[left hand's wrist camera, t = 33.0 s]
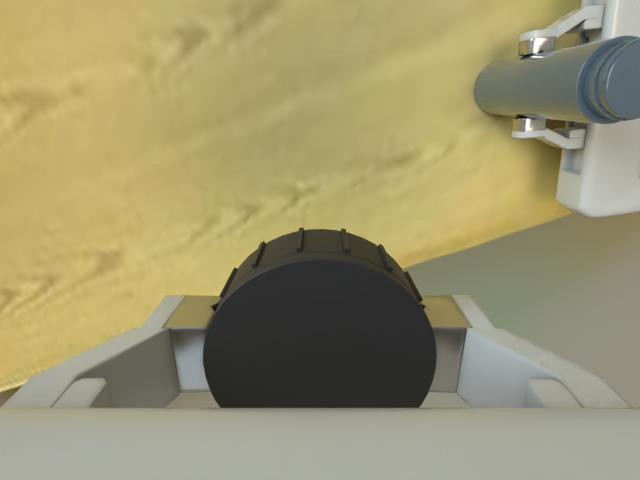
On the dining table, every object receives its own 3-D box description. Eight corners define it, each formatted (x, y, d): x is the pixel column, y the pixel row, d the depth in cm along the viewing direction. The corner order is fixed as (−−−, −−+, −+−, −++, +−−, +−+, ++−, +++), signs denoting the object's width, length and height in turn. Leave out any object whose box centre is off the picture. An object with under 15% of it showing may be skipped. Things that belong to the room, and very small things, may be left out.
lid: (187, 267, 9) (156, 307, 8) (382, 195, 9) (399, 219, 7) (269, 417, 11) (259, 478, 9) (439, 364, 10) (464, 419, 9)
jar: (531, 64, 32) (706, 36, 18) (515, 117, 33) (666, 131, 19) (481, 57, 32) (619, 23, 17) (468, 111, 33) (585, 120, 19)
